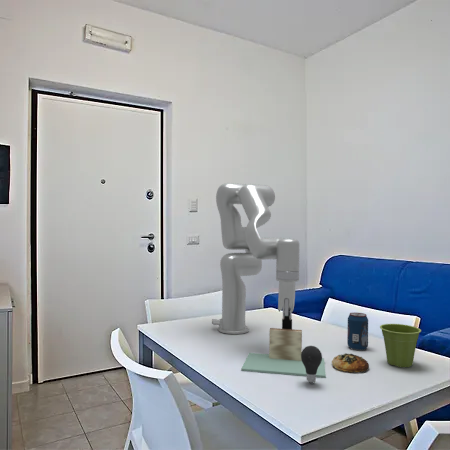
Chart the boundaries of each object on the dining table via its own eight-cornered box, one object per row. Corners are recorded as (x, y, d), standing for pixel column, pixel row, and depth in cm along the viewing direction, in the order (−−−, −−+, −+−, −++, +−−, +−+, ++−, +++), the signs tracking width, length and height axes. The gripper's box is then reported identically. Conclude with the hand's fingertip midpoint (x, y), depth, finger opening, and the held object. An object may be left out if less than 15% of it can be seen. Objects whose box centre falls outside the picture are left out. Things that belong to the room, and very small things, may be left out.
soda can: (350, 344, 150) (350, 311, 150) (369, 347, 146) (370, 313, 146) (345, 348, 144) (345, 314, 144) (365, 352, 140) (365, 317, 140)
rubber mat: (241, 370, 120) (241, 368, 120) (249, 354, 136) (249, 352, 136) (325, 377, 115) (325, 375, 115) (324, 360, 131) (324, 358, 131)
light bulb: (298, 379, 114) (298, 343, 114) (318, 379, 114) (318, 343, 114) (303, 387, 108) (304, 349, 108) (324, 386, 108) (325, 348, 109)
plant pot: (371, 360, 131) (371, 325, 132) (400, 356, 136) (400, 322, 136) (399, 372, 120) (399, 334, 120) (429, 368, 125) (430, 331, 125)
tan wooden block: (269, 358, 130) (269, 329, 130) (270, 355, 133) (270, 327, 133) (301, 360, 128) (301, 331, 128) (301, 358, 130) (301, 329, 131)
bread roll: (377, 369, 123) (375, 352, 123) (351, 381, 117) (349, 363, 117) (349, 360, 132) (347, 345, 132) (323, 370, 127) (321, 354, 127)
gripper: (277, 273, 145) (277, 325, 144) (274, 278, 130) (273, 336, 130) (299, 274, 143) (299, 327, 143) (298, 279, 128) (297, 338, 128)
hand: (287, 331), depth 136 cm, fingers closed
